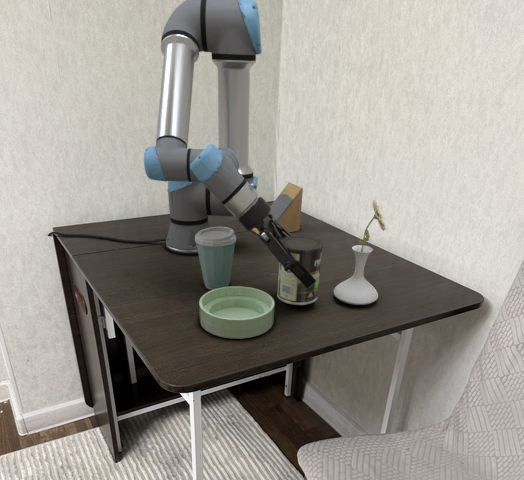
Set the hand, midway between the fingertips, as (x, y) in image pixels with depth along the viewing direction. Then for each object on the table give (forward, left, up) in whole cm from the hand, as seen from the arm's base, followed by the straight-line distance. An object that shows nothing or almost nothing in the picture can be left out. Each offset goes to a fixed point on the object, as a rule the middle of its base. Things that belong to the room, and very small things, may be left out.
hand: (311, 275), depth 117 cm
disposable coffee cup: (-26, -3, -8) cm, 27 cm away
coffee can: (-3, -1, -6) cm, 7 cm away
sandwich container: (-34, +47, -8) cm, 58 cm away
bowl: (-11, -17, -8) cm, 22 cm away
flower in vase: (+9, +10, -8) cm, 16 cm away
